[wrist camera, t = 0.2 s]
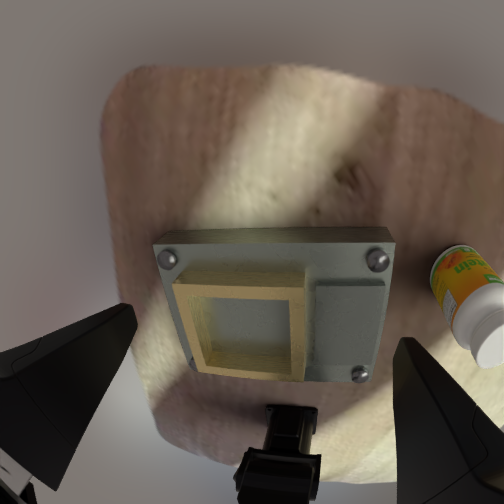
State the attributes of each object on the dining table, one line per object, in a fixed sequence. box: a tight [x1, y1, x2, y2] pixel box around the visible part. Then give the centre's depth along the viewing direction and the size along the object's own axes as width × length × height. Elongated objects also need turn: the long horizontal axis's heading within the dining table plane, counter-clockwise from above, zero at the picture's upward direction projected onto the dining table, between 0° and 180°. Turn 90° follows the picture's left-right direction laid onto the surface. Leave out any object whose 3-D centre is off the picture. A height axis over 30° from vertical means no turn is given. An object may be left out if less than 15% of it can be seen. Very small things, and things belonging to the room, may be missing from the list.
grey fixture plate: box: [153, 227, 395, 383], centre depth 23 cm, size 14×18×5 cm
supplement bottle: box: [430, 245, 504, 369], centre depth 16 cm, size 5×5×10 cm
